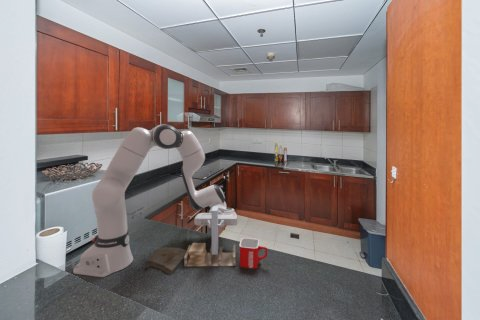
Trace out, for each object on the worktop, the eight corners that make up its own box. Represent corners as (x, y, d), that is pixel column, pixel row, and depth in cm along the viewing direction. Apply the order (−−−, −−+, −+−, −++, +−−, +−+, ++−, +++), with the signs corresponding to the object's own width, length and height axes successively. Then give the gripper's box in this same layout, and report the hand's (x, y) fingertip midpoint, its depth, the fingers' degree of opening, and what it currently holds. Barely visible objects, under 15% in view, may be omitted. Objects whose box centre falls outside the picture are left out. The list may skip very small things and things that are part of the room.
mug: (238, 270, 89) (238, 246, 87) (241, 258, 97) (241, 237, 95) (266, 273, 86) (267, 249, 85) (267, 261, 95) (267, 239, 93)
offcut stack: (188, 265, 89) (187, 252, 88) (192, 254, 97) (191, 242, 97) (205, 265, 89) (204, 252, 89) (207, 254, 98) (207, 242, 97)
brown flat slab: (172, 279, 83) (172, 269, 83) (139, 274, 86) (139, 265, 85) (190, 255, 99) (189, 247, 99) (162, 252, 102) (161, 244, 102)
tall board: (211, 254, 91) (211, 210, 88) (212, 247, 96) (212, 206, 94) (217, 254, 91) (217, 210, 88) (218, 247, 96) (218, 206, 94)
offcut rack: (184, 269, 89) (184, 257, 88) (189, 256, 99) (189, 245, 98) (235, 268, 89) (235, 257, 89) (235, 255, 99) (235, 244, 99)
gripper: (196, 208, 104) (191, 219, 90) (237, 208, 105) (237, 219, 91) (196, 220, 105) (191, 233, 91) (237, 220, 105) (237, 233, 92)
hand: (214, 226), depth 91 cm, fingers closed on tall board, 2 cm apart
